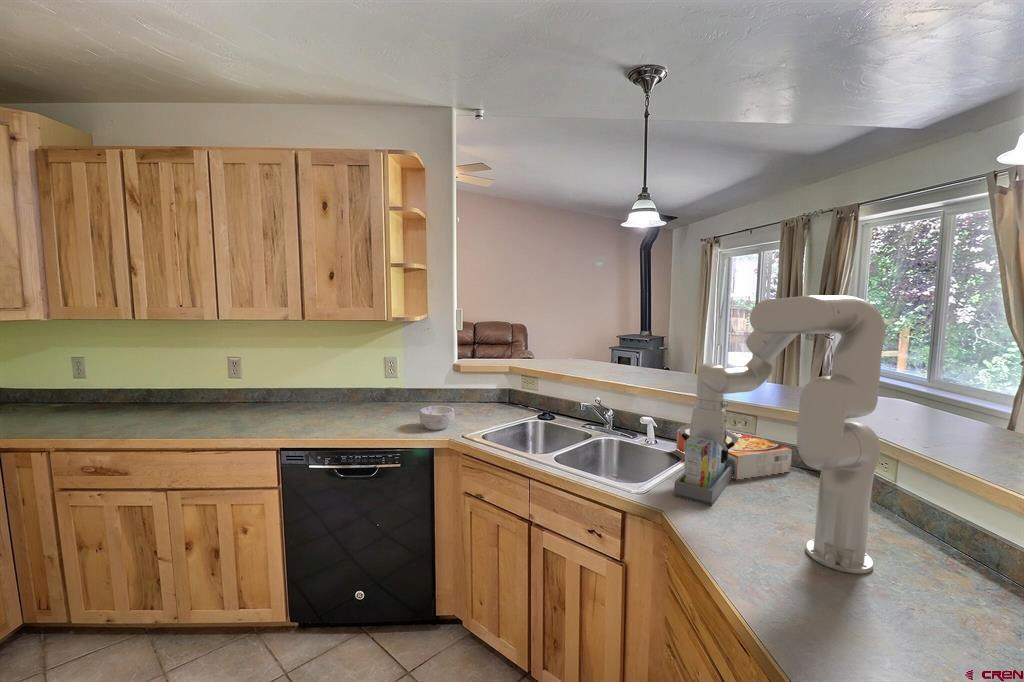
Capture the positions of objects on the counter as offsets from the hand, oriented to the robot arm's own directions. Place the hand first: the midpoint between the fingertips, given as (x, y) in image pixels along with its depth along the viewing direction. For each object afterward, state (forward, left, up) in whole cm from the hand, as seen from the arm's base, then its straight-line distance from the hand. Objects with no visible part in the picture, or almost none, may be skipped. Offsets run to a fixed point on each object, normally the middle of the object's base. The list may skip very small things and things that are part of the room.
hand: (706, 458), depth 143 cm
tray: (0, 0, -9) cm, 9 cm away
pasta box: (+22, -13, -5) cm, 26 cm away
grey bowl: (-8, +111, -9) cm, 112 cm away
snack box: (0, 0, -8) cm, 8 cm away
